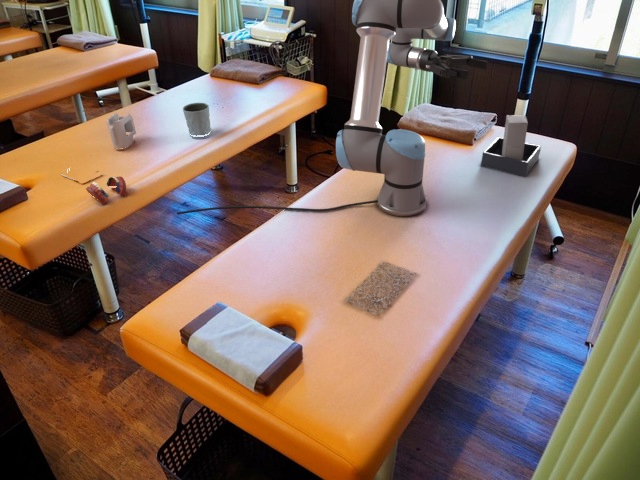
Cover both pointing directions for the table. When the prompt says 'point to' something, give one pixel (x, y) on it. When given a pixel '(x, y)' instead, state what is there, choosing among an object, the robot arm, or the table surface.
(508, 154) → the cosmetic box
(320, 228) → the table surface
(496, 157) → the box
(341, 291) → the table surface
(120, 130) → the cable organizer
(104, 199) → the teeth model
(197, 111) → the drinking glass
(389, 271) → the rug
